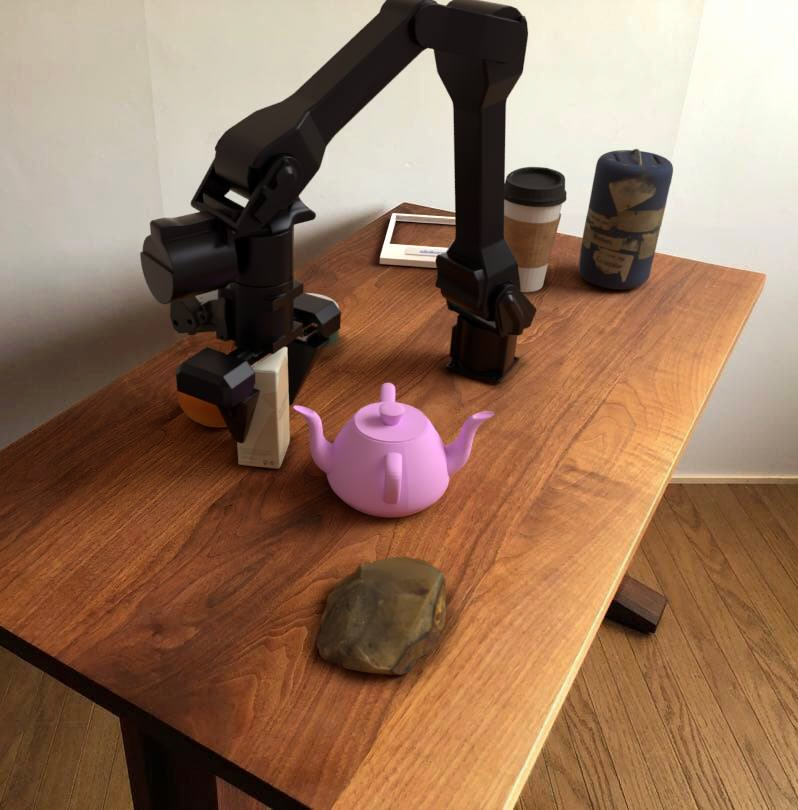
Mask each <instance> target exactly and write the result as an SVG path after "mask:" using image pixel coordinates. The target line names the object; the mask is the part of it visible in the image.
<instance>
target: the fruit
mask: <svg viewBox="0 0 798 810" xmlns="http://www.w3.org/2000/svg"><path fill="white" fill-rule="evenodd" d="M225 353H226V354H228V353H227V352H225ZM176 396H177V402H178V404H179V406H180V408H181V409H182V411H183V412H184V413H185V414H186V416H187V417H188V418H190V419H191V420H192V421H194V422H196V423H198V424H199V425H202V426H205V427H207V428H208V427H209V428H227V425H226V423H225V421H224V419H223V417H222V415H221V413H220V411H219V409H218V407H217V406H216V405H213V404H211V403H208V402H205V401H203V400H200V399H197V398H195V397H192V396H189V395H187V394H184V393H181V392H179V391H177V390H176Z"/></svg>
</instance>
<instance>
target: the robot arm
mask: <svg viewBox="0 0 798 810" xmlns="http://www.w3.org/2000/svg"><path fill="white" fill-rule="evenodd" d="M528 27H529V25H528V20H527V18H526V15H523V14H522V12H521V11H520V10H519V9H518V7H515V6H512V5H509V4H502V3H498V2H491V1H486V0H451V1H448V3H447V4H446V5H445V4H442V3H441V4H440V3H438V2H437V1H436V0H385V1H384V2H383V3H382V5H381V7H380V9H379V12H377V14H376V15H375V16H374V17H373V18H372V19H371V20H370V21H369V22H368V23H366V24H365V25H364V26H363V27H362V28H361V29H360V30H359V31H358V32H357V33H356V34H355V35H354V36H353V37H352V38H350V40H348V42H347V43H345V45H343V46H342V47H341V48H340V49H339V50H338V51H336V52H335V54H333V56H331V57H330V58H329V59H328V60H327V61H326V62H325V63H324V64H323V65H322V66H321V67H320V68H318V69H317V70H316V71H315V72H314V73H313V74H312V75H311V76H310V77H309V78H308V79H307V80H306V81H305V82H304V83H303V84H302V85H301V86H299V88H298V89H296V90H295V91H294V92H293V93H292V94H291V95H289V96H288V97H286V98H284V99H283V100H281V101H279V102H276V103H273V104H271V105H268V106H265V107H263V108H262V107H261V108H259V109H257V110H255V111H254V112H252V113H250V114H249V115H247V116H246V117H244V118H243V119H241V120H240V121H238V122H237V123H236V124H234V125H232V126H230V128H228V129H227V130H225V132H223V134H222V135H221V136H220V138H219V139H218V140H217V142H216V144H215V146H214V151H215V155H214V158H213V160H212V162H211V164H210V166H209V167H208V170H207V172H206V173H205V175H204V176H203V178H202V180H201V181H200V184H199V186H198V188H197V189H196V191H195V193H194V195H193V197H192V199H191V200H190V206H191V207H192V208H193V209H195V210H196V211H198V212H193V213H187V214H184V215H180V216H175V217H160V218H156V219H152V220H151V221H149V230H150V231H149V232H150V234H149V235H147V236H146V237H145V238H144V239H143V243H142V251H140V253H139V257H140V259H139V260H140V265H141V269H142V274H143V277H144V280H145V283H146V285H147V287H148V289H149V291H150V294H151V295H152V297H154V299H155V300H156V301H157V302H158V303H159V304H162V305H168V304H169V306H170V307H169V318H170V321H171V324H172V327H173V329H174V330H175V331H176V332H177V333H178V334H187V335H188V336H195V335H197V334H201V333H211V332H215V337H216V339H217V340H220V341H223V342H226V343H227V342H229V341H230V342H231V341H232V342H233V345H234V346H235V349H234V350H232V351H230V352H228V353H227V352H223V351H220V350H217V349H214V348H211V347H208V346H206V347H204V348H203V349H201V350H200V351H198V352H197V353H195V354H194V355H192V356H190V357H189V358H187V359H186V360H184V361H182V362H181V363H180V364H179V365H178V366H176V367H175V382H176V383H175V384H176V392H177V391H179V392H181V393H184V394H187V395H189V396H192V397H195V398H197V399H200V400H203V401H205V402H208V403H211V404H213V405H216V406H217V407H218V409H219V411H220V413H221V415H222V417H223V419H224V421H225V423H226V425H227V427H226V428H227V429H228V430H227V431H229V434H230V436H231V438H232V440H233V441H234V442H236V443H237V442H239V443H241V444H242V443H244V442H245V440H246V437H247V435H248V432H249V429H250V425H251V422H252V418H253V415H254V411H255V408H256V404H257V401H258V398H259V394H260V390H258V389H255V388H253V387H254V385H255V372H254V370H253V369H252V368H254V367H255V366H257V365H258V364H259V363H261V362H262V361H264V360H265V359H267V358H268V357H269V356H271V355H272V354H274V353H276V352H277V351H279V350H280V349H282V348H283V347H287V356H288V392H289V406H292V405H294V403H295V402H296V399H297V397H298V395H299V394H300V392H301V390H302V388H303V386H304V384H305V383H306V381H307V379H308V378H309V375H310V374H311V372H312V370H313V369H314V366H315V365H316V364H317V361H318V360H319V359H318V358H319V356H320V355H321V353H322V351H323V349H324V348H325V346H326V345H327V344H328V343H329V342H330V336H331V335H332V334H334V333H335V332H336V331H338V330H339V331H340V330H341V325H342V324H341V320H342V319H341V318H342V317H341V316H342V312H341V310H340V308H339V309H338V307H337V306H336V304H335V303H334V302H333V301H331V300H327V299H324V298H320V297H317V296H313V295H310V294H306V293H307V292H304V282H301V281H298V280H295V225H299V224H302V223H307V222H310V221H311V222H312V221H314V220H315V219H316V217H317V213H316V211H314V210H313V209H311V208H310V207H308V206H307V205H306V204H305V203H304V202H303V200H302V199H301V197H300V195H301V194H302V193H303V191H304V190H305V189H306V187H307V186H308V185H309V183H310V182H311V181H312V180H313V178H314V177H315V176H316V175H317V173H318V172H319V171H320V170H321V169H320V168H321V167H322V162H323V160H324V156H325V153H326V150H327V147H328V145H329V144H330V143H331V141H332V140H333V139H334V138H335V136H337V134H338V133H339V132H340V131H341V130H342V129H344V127H346V126H347V125H348V123H350V122H351V121H352V120H353V119H354V118H355V117H356V116H357V115H358V114H359V113H361V111H362V110H363V109H364V108H365V107H367V106H368V105H369V103H371V102H372V101H373V100H374V99H375V98H376V97H377V96H378V95H379V94H380V93H381V92H382V91H383V90H384V89H385V88H386V87H387V86H388V85H389V84H390V83H392V82H393V81H394V80H395V78H397V77H398V76H399V75H400V74H401V73H402V72H403V71H404V70H405V69H406V68H407V67H408V66H409V65H410V64H411V63H412V62H414V60H415V59H417V57H418V56H420V54H421V53H422V52H424V51H425V50H427V49H431V50H433V55H434V61H435V68H436V72H437V74H438V77H439V79H440V80H441V83H442V84H443V87H444V88H445V91H446V92H447V94H448V96H449V98H450V101H451V102H452V113H453V115H452V118H453V160H454V161H453V164H454V165H453V167H454V173H453V174H454V217H455V229H454V230H455V235H454V239H453V240H452V242H451V243H450V245H449V246H448V247H447V248H448V249H447V251H446V252H445V253H443V254H439V255H437V257H436V260H435V261H436V266H437V268H436V272H437V273H436V280H435V284H434V287H435V288H436V289H439V290H440V295H441V296H442V298H444V299H445V302H446V307H447V310H448V311H451V312H454V313H456V314H457V317H456V318H457V319H456V323H455V324H453V325H452V326H451V327H452V328H451V335H450V345H449V358H451V360H449V362H448V363H446V367H445V368H446V370H448V371H451V372H454V373H457V374H460V375H464V376H467V377H470V378H474V379H476V380H480V381H483V382H487V383H490V384H493V385H499V384H501V382H502V381H503V380H504V379H505V378H506V377H507V376H508V374H510V373H511V371H513V369H514V368H515V367H516V366H517V365H518V364H519V362H520V358H519V356H515V355H516V349H517V342H518V336H521V335H523V333H524V331H525V330H526V329H528V328H530V327H531V326H532V323H533V321H534V318H535V316H536V313H537V308H536V306H535V305H534V304H533V303H532V302H531V301H530V299H528V298H527V297H526V295H525V294H524V292H521V291H520V289H521V288H520V277H519V269H518V262H517V260H516V258H515V256H514V255H513V253H512V251H511V249H510V247H509V245H508V243H507V241H506V239H505V237H504V191H505V181H506V175H505V174H506V126H507V124H506V123H507V114H506V113H507V101H508V98H509V96H510V94H511V93H512V91H513V89H514V88H515V86H516V85H517V84H518V81H519V80H520V79H521V76H522V75H523V72H524V66H525V60H526V53H527V46H528V39H529V28H528ZM230 191H231V192H233V193H235V194H237V195H238V196H240V197H242V198H244V199H246V200H247V203H246V205H245V206H244V205H241V204H240V203H238V202H236V201H234V200H233V199H230V198H228V197H227V196H226V195H227V194H228V193H229V192H230ZM316 324H317V326H316ZM226 353H227V354H226Z"/></svg>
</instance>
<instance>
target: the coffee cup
mask: <svg viewBox="0 0 798 810" xmlns="http://www.w3.org/2000/svg"><path fill="white" fill-rule="evenodd" d="M567 194H568V193H567V190H566V176H565V175H564V174H563V173H562V172H560V171H558V170H555V169H553V168H550V167H542V166H526V167H520V168H516V169H514V170H512V171H511V172H509V173H508V174H507V175H506V176H505V191H504V237H505V239H506V241H507V243H508V245H509V247H510V249H511V251H512V253H513V255H514V256H515V258H516V260H517V262H518V269H519V277H520V288H521V289H520V291H521V292H522V293H533V292H534V293H535V292H537V291H539V290H541V289H542V288H543V286H544V283H545V278H546V274H547V270H548V266H549V263H550V260H551V255H552V252H553V248H554V244H555V241H556V237H557V234H558V233H557V232H558V228H559V225H560V223H561V222H560V221H561V218H562V213H561V210H562V206H563V204H564V203H565V202H566V201H567Z"/></svg>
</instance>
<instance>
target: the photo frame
mask: <svg viewBox="0 0 798 810" xmlns="http://www.w3.org/2000/svg"><path fill="white" fill-rule="evenodd" d="M396 221H397V222H409V223H410V222H412V223H424V224H425V223H426V224H439V225H440V224H442V225H455V216H441V215H439V216H438V215H424V214H410V213H397V212H396V213H395V212H394V213H393V212H392V213H391V217H390V221H389V224H388V228H387V231H386V235H385V239H384V242H383V244H382V248H381V252H380V256H379V264H380V265H391V266H392V265H393V266H405V267H406V266H407V267H418V268H419V267H420V268H431V269H432V268H433V269H434V268H435V269H437V266H436V261H435V260H436V257H437V255H439V254H443V253H445V252H446V251H447V249H448V248H449V247H439V246H427V245H425V246H424V245H414V244H413V245H411V244H397V243H396V244H395V243H391V241H392V237H393V232H394V229H395V225H396Z"/></svg>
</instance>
